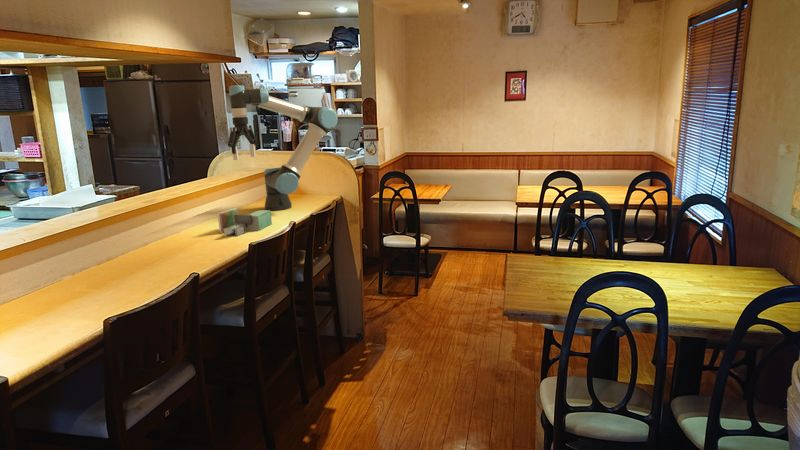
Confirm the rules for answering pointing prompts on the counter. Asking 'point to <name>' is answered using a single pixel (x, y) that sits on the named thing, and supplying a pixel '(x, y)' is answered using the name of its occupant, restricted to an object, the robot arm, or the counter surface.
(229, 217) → the gauge housing
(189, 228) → the counter surface
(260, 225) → the box
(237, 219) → the plunger
